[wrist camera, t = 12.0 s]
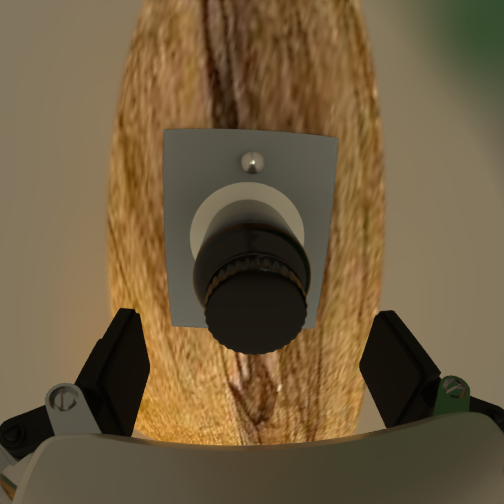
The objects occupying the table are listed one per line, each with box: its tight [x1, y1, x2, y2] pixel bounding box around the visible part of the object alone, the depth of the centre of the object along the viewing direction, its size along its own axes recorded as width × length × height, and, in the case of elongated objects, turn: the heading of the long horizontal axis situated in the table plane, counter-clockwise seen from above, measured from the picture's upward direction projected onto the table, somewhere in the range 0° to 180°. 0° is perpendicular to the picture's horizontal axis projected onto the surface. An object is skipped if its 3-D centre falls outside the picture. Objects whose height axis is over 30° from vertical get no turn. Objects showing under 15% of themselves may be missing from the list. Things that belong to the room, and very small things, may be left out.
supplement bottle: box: [193, 199, 311, 355], centre depth 18 cm, size 7×7×12 cm
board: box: [163, 129, 338, 329], centre depth 23 cm, size 18×14×4 cm
